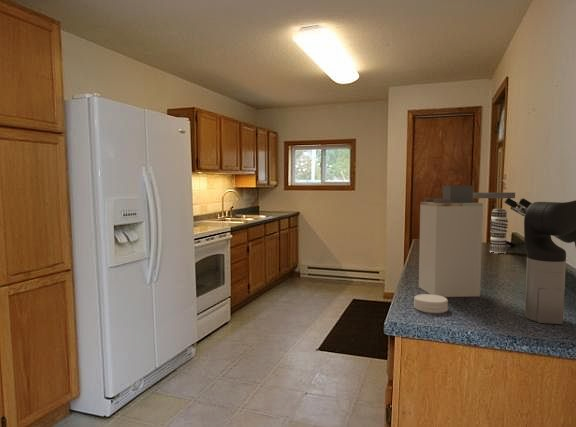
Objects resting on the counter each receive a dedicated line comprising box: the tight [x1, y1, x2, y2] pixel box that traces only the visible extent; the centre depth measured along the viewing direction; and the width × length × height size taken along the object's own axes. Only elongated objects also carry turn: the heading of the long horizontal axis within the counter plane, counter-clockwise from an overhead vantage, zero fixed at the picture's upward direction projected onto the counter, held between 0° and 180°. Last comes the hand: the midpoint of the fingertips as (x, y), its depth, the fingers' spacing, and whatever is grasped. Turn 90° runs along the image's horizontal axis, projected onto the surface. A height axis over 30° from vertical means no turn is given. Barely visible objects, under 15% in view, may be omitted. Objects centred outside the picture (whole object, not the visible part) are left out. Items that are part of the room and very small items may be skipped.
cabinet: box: [418, 198, 484, 298], centre depth 141 cm, size 16×14×33 cm
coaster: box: [413, 293, 449, 314], centre depth 122 cm, size 10×10×4 cm
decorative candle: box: [489, 208, 509, 254], centre depth 225 cm, size 9×9×25 cm
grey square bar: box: [442, 185, 516, 203], centre depth 140 cm, size 24×6×6 cm, turn 93°
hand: (513, 200), depth 141 cm, fingers open, 8 cm apart
